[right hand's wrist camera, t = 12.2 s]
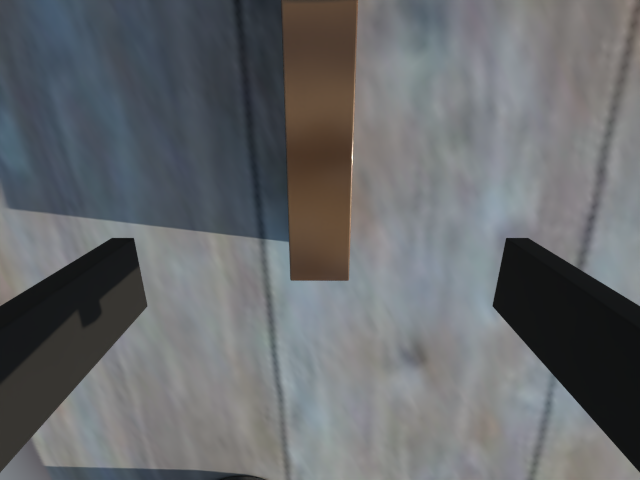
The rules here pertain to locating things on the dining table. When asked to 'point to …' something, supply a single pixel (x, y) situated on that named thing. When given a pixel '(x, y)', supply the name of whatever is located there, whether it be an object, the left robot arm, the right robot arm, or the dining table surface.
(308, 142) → the plank
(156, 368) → the dining table surface
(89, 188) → the dining table surface
